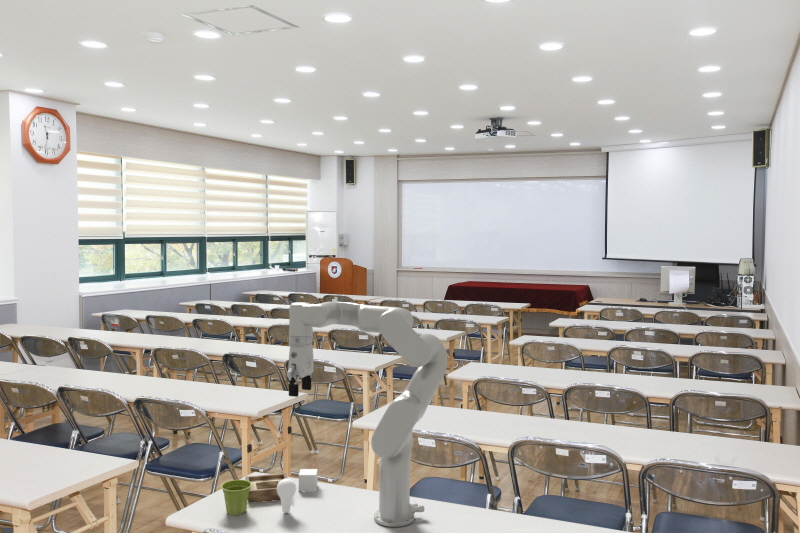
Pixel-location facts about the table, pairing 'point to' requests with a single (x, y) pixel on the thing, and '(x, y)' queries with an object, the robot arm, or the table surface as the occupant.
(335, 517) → the table surface
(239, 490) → the plant pot
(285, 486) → the lightbulb
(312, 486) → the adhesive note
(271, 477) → the socket box
